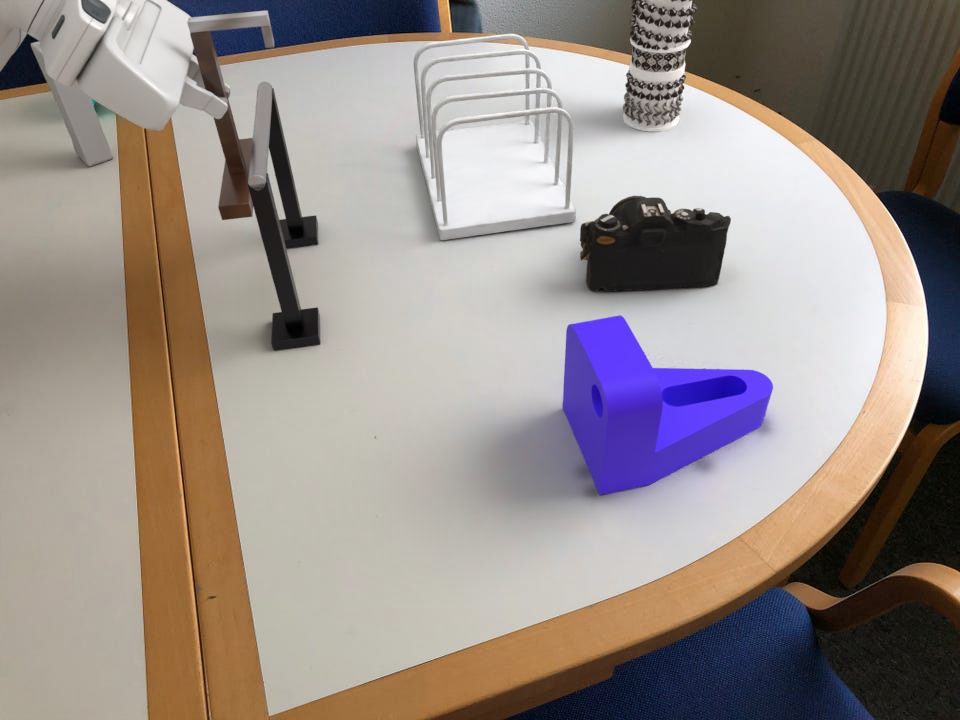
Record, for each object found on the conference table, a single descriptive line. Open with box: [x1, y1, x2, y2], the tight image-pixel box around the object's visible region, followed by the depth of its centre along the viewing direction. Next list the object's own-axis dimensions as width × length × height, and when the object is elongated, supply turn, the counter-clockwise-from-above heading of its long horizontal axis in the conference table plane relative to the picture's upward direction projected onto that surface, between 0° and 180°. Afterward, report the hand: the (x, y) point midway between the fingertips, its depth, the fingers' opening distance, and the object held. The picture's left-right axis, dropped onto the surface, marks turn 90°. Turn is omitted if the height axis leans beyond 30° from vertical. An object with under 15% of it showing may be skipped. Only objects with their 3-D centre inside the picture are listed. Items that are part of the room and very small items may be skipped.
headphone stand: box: [187, 10, 275, 221], centre depth 78 cm, size 8×14×17 cm, turn 9°
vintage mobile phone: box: [30, 40, 114, 168], centre depth 109 cm, size 4×5×25 cm
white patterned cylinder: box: [622, 0, 698, 133], centre depth 112 cm, size 9×9×25 cm
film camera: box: [579, 195, 732, 292], centre depth 89 cm, size 18×12×10 cm
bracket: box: [562, 315, 774, 496], centre depth 70 cm, size 18×11×12 cm, turn 103°
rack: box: [248, 81, 321, 351], centre depth 87 cm, size 5×24×20 cm, turn 9°
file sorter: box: [413, 33, 577, 241], centre depth 103 cm, size 25×17×16 cm
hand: (226, 104), depth 78 cm, fingers closed on headphone stand
